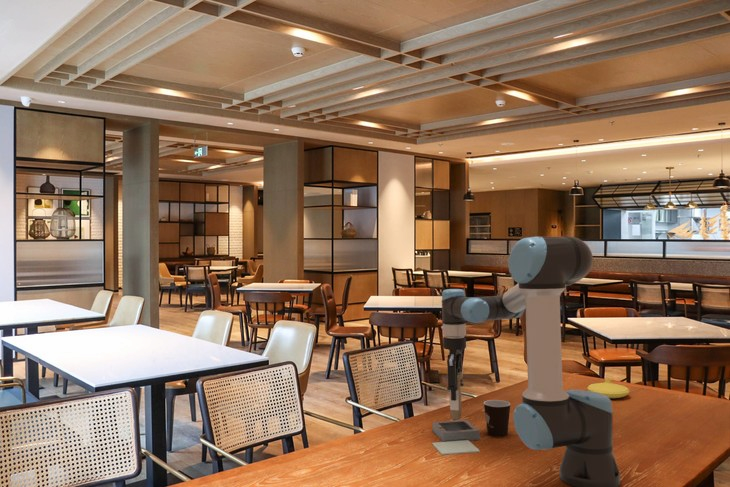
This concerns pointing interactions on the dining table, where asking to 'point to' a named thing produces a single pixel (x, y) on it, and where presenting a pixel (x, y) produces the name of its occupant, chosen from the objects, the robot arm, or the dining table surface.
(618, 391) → the yellow pattypan squash
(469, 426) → the silver square frame
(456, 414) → the handle
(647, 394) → the dining table surface
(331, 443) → the dining table surface
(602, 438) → the robot arm
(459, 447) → the mat
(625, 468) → the dining table surface
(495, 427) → the coffee mug
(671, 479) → the dining table surface
